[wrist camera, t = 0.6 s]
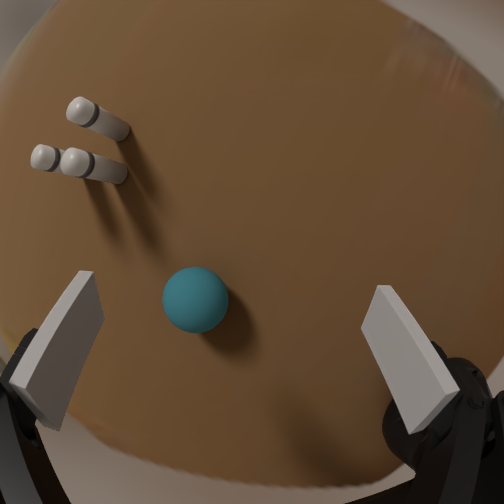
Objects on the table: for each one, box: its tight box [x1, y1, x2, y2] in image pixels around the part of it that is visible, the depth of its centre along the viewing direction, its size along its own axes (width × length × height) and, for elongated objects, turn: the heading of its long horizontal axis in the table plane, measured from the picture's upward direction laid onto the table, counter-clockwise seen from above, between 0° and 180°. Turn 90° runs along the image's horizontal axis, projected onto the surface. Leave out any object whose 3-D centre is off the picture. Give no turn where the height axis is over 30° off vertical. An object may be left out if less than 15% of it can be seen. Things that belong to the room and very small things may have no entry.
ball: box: [163, 267, 229, 333], centre depth 25 cm, size 6×6×6 cm
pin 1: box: [31, 144, 65, 174], centre depth 24 cm, size 2×2×8 cm
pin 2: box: [66, 97, 130, 141], centre depth 24 cm, size 2×2×8 cm
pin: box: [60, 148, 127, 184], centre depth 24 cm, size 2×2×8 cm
